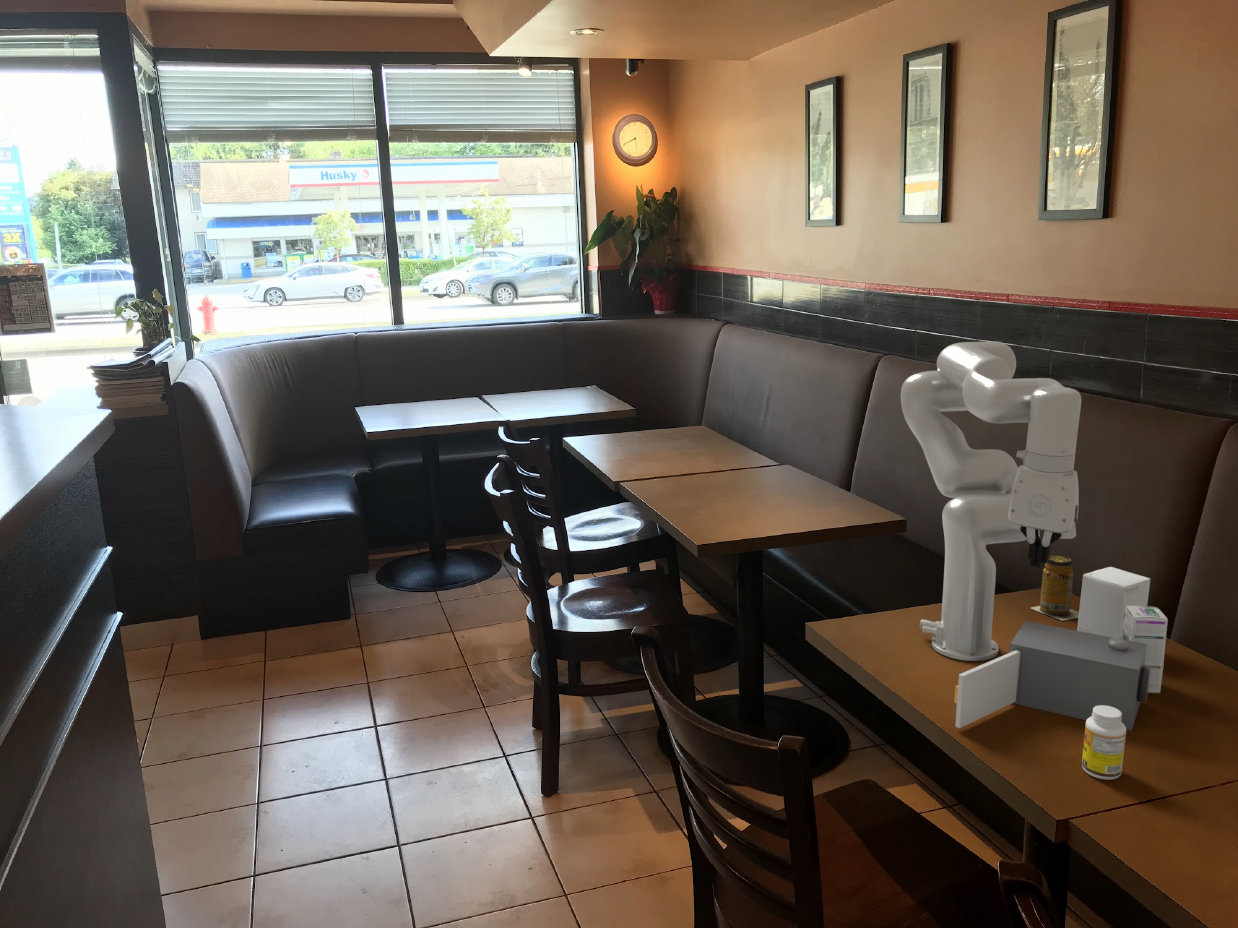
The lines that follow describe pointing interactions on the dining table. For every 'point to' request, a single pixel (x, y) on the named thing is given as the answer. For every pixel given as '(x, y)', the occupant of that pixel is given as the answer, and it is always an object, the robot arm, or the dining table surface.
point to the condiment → (1057, 589)
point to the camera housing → (1079, 672)
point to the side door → (987, 688)
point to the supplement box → (1109, 600)
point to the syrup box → (1148, 638)
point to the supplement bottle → (1104, 743)
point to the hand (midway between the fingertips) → (1037, 564)
